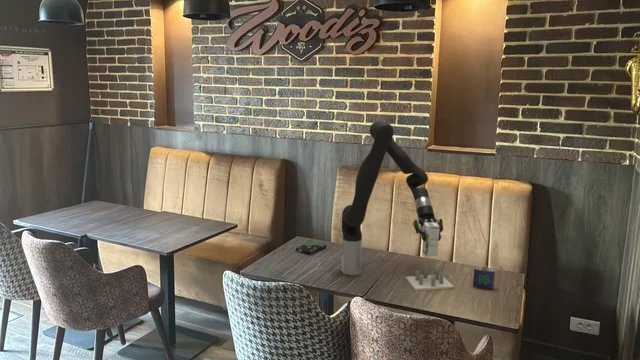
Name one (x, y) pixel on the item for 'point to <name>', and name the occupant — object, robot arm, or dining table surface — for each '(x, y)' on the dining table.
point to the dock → (429, 281)
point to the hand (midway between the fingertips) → (432, 240)
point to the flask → (484, 278)
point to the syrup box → (431, 239)
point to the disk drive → (311, 248)
